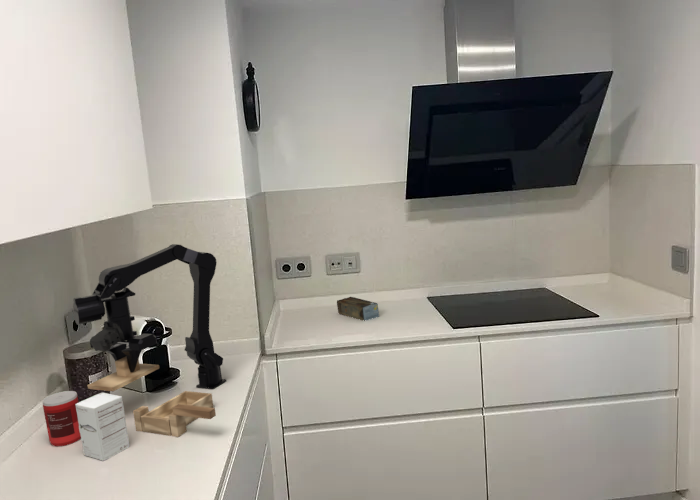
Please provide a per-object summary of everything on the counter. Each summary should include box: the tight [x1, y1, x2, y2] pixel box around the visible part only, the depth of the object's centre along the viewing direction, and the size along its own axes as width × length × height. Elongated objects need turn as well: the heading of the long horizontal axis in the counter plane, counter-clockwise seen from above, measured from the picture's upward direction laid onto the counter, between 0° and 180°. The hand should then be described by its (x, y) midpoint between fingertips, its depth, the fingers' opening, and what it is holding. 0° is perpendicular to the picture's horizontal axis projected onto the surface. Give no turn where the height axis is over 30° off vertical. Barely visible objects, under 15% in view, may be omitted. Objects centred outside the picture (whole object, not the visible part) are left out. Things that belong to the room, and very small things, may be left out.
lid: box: [87, 357, 160, 392], centre depth 148 cm, size 16×9×5 cm, turn 155°
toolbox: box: [132, 390, 215, 438], centre depth 141 cm, size 16×14×5 cm
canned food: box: [42, 390, 81, 447], centre depth 136 cm, size 8×8×11 cm
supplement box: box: [75, 392, 130, 462], centre depth 127 cm, size 7×7×13 cm
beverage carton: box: [336, 296, 380, 322], centre depth 227 cm, size 8×19×7 cm, turn 35°
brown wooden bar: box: [172, 404, 217, 420], centre depth 130 cm, size 2×11×2 cm, turn 65°
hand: (127, 371), depth 149 cm, fingers closed on lid, 3 cm apart
